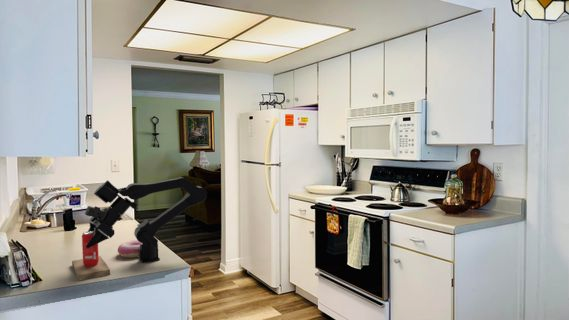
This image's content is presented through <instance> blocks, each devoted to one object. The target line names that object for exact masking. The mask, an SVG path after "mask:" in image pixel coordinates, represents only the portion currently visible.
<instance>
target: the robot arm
mask: <svg viewBox="0 0 569 320" xmlns="http://www.w3.org/2000/svg"><path fill="white" fill-rule="evenodd" d="M180 188H181V189H182V190H184V191H186V193H185V194H184V196H183V197H182V198H181V199H180V200H179V201H177V202H176V203H175V204H173V205H171V206H170V207H169V208H168V209H166V210H165V211H164V212H162V213H161V214H159V215H158V216H156V217H155V218H154V219H152V220H150V221H148V219H146V218H145V219H144V220H143V221H142V222H140V223H138V224H137V227H135V229H134V232H133V234H134V237H135V238H136V240H138V241H139V242H141V243H142V244H140V249H138V250H139V257H138V260H139V261H140V262H141V263H150V262H155V261H160V260H161V258H160V257H159V239H158V238H157V237H156V236H155V235H157V233H158V232H159V230H161V228H163V227H164V226H165V225H167V224H168V223H169V222H171V221H172V220H174V219H175V218H176V217H178V216H179V215H180V214H182V213H183V212H184V211H186V210H187V209H188V208H190V207H193V206H195V205H197V204H200V203H202V202H203V201H205V200H206V199H207V197H208V192H207V189H205V188H203V187H201V186H199V185H196V184H194V183H192V182H191V181H189V180H188V179H187V178H185V177H183V176H180V177H179V176H178V177H176V178H172V179H165V180H162V181H161V180H160V181H155V182H149V183H146V182H145V183H144V182H141V183H139V182H138V183H137V182H136V183H135V182H134V183H133V182H132V183H129V184H128V185H127V186H126V187H122V188H117V187H116V186H114V184H112V183H111V181H110V180H106V181H105V182H104V183H102V184H101V185H99V187H98V188H96V189H95V191H94V193H93V195H94V196H96V197H97V198H99V199H100V200H101V201H102V202H104V203H105V204H108V203H110V206H108V207H104V209H101V207H99V206H96V205H94V206H90V205H87V207H86V209H85V211H84V215H85V216H87V217H91V218H90V219H89V221H88V224H89V228H88V230H87V232H88V231H94V235H93V236H92V238H91V239H90V240H89V242H88V243H87V245H86V247H87V248H90V247H92V246H94V245H96V244H98V245H99V243H102V242H104V241H106V240H108V239H112V237H114V235H115V229H113V228H114V225H115V224H116V223H117V222H118V221H121V219H122V216H123V215H124V214H125V213H126V212H127V211H128V210H129V209H130V208H131V209H133V210H136V208H137V207H136V201H135V200H139V199H142V198H144V197H147V196H149V195H151V194H155V193H159V192H163V191H164V192H165V191H170V190H175V189H180ZM119 194H120V195H119ZM123 197H124V198H123ZM127 197H128V198H127ZM130 199H131V200H130ZM132 200H133V201H132Z"/></svg>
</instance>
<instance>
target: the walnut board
mask: <svg viewBox="0 0 569 320" xmlns="http://www.w3.org/2000/svg"><path fill="white" fill-rule="evenodd" d="M98 256H99V261H98V264H97V265H96V266H91V267H85V266H84V264H83V258H81V259H75V260H72V261H71V266H72V268H73V271H74V272H75V273H74V274H75V275H76V277H77V280H78V281H83V280H88V279H93V278H98V277H103V276H109V275H111V268H110V266H108V264H107V263H106V262H105V260H104V259H103V257H102V256H101V255H98Z"/></svg>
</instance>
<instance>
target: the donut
mask: <svg viewBox="0 0 569 320" xmlns="http://www.w3.org/2000/svg"><path fill="white" fill-rule="evenodd" d="M140 244H142V243H141V242H139V241H138V240H137V239H135V240H129V241H125V242H123V243H121V244H120V245H119V246H118V247H117V253H118V255H119V256H121V257H123V258H139V250H138V249H140Z"/></svg>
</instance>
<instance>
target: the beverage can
mask: <svg viewBox="0 0 569 320" xmlns="http://www.w3.org/2000/svg"><path fill="white" fill-rule="evenodd" d="M93 235H94V231H88V230H87V231H84V232H82V235H81V245H82V246H81V247H82V259H83V264H84V266H85V267H91V266H96V265H97V264H98V261H99V256H100V255H99V243H98V244H96V245H94V246H92V247H90V248H87V247H86V245H87V243H88V242H89V240H90V239H91V238H92V236H93Z"/></svg>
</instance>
